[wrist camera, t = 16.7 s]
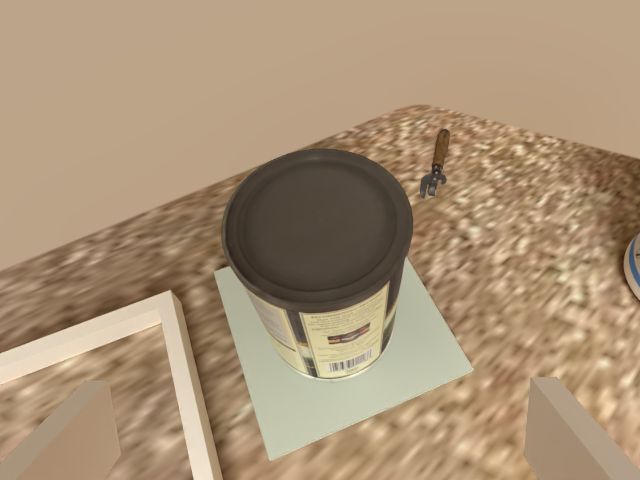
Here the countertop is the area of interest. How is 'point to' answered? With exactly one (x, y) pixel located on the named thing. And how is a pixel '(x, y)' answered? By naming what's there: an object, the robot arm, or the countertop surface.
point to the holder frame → (120, 326)
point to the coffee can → (321, 257)
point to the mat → (348, 395)
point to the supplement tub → (633, 265)
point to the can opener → (436, 165)
